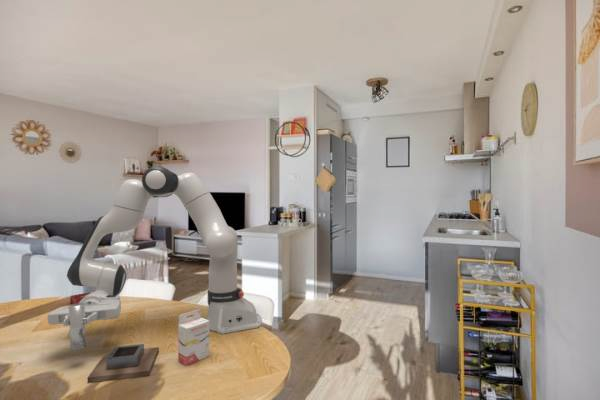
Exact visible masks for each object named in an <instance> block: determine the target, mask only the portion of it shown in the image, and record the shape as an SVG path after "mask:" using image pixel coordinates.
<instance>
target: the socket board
mask: <svg viewBox="0 0 600 400" xmlns="http://www.w3.org/2000/svg"><path fill="white" fill-rule="evenodd" d="M159 349H160V348H159V346H156V347H147V348H146V347H144V354H143V357H142V359H141V361H140V363H139V365H138V366H137V367H128V368H119V369H110V370H106V359H107V358H108V357H109V355H110V354H111V352H112V351H108V352H107V351H106V352H105V353H104V354H103V356H102V357H101V358H100V360H99V361H98V363H97V364H96V365H95V367H93V369H92V371H91V372H90V374H89V375H88V377H87V379H86V380H87V383H88V384H91V383H100V382H109V381H118V380H125V379H133V378H142V377H143V378H144V377H149V376H150V374H151V372H152V370H153V367H154V364H155V362H156V359H157V357H158V355H159V352H160V350H159Z"/></svg>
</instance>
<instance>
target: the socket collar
mask: <svg viewBox="0 0 600 400" xmlns="http://www.w3.org/2000/svg"><path fill="white" fill-rule="evenodd" d="M144 349H145V343H142V344H141V343H139V344H138V343H137V344H129V345H120V346H119V345H118V346H115V347H114V348H113V349H112V351H110V352H111V354H110V355H109V357H108V358H107V359H106V370H110V369H119V368H128V367H137V366H138V365H139V363H140V361H141V359H142V357H143V354H144Z"/></svg>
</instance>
